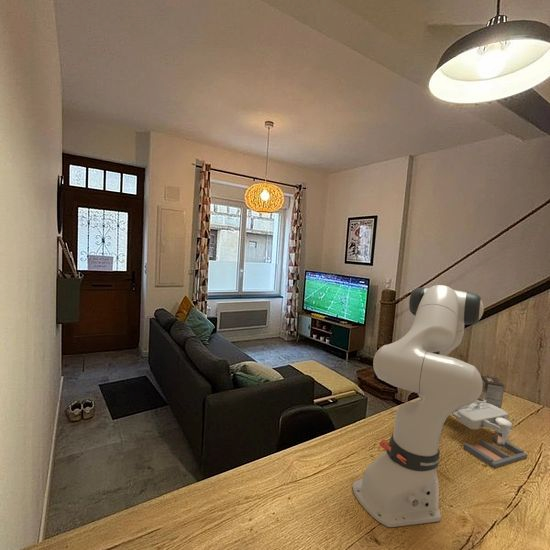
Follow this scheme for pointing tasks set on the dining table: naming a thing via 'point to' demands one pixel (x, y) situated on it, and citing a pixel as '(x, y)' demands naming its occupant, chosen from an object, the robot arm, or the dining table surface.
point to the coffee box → (492, 391)
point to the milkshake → (502, 436)
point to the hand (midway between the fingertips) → (506, 428)
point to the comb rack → (494, 453)
